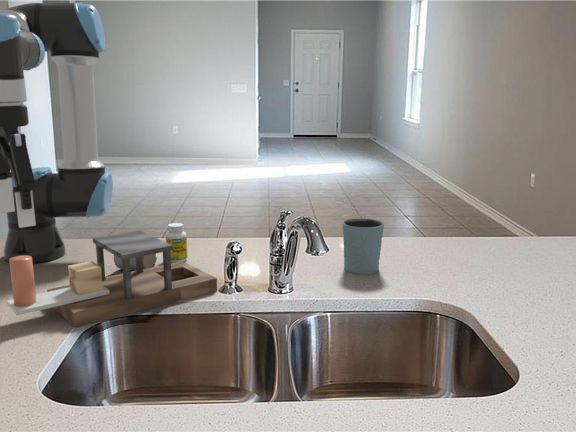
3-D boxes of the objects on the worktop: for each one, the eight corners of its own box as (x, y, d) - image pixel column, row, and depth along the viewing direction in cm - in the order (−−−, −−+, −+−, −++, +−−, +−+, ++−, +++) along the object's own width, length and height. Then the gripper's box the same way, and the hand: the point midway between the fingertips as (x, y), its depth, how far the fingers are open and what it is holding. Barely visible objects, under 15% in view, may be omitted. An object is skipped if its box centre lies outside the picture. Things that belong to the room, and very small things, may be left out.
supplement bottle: (182, 255, 159) (180, 221, 157) (191, 260, 155) (189, 225, 152) (163, 259, 156) (161, 224, 153) (172, 264, 151) (170, 228, 149)
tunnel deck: (48, 302, 126) (43, 246, 123) (182, 272, 145) (180, 223, 142) (74, 327, 113) (69, 265, 111) (217, 290, 133) (215, 237, 130)
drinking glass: (337, 272, 145) (338, 225, 143) (345, 261, 155) (347, 216, 152) (378, 277, 142) (380, 228, 140) (384, 264, 152) (386, 219, 149)
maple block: (70, 288, 122) (68, 265, 121) (93, 283, 125) (92, 261, 124) (78, 295, 119) (76, 271, 117) (102, 290, 122) (101, 266, 120)
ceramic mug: (142, 276, 143) (141, 245, 141) (113, 272, 145) (111, 242, 144) (164, 263, 153) (163, 235, 151) (137, 260, 155) (135, 232, 153)
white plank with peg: (7, 304, 116) (1, 256, 114) (96, 284, 127) (93, 241, 125) (17, 315, 111) (11, 265, 108) (109, 294, 122) (106, 248, 119)
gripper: (-34, 101, 113) (-21, 209, 118) (-1, 108, 94) (13, 236, 99) (7, 100, 118) (19, 204, 123) (47, 106, 99) (59, 229, 104)
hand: (16, 219), depth 111 cm, fingers open, 13 cm apart
